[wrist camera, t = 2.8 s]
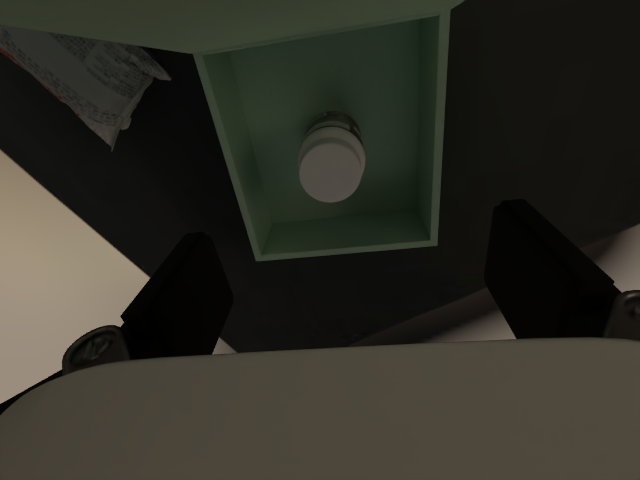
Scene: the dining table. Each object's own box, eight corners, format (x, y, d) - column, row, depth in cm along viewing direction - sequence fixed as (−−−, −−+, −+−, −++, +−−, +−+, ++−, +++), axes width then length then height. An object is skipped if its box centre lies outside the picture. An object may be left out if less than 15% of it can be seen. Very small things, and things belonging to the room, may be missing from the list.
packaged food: (128, 142, 29) (93, 160, 25) (-8, 22, 25) (-78, 19, 21) (186, 71, 26) (157, 78, 22) (42, -81, 22) (-28, -109, 17)
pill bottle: (359, 166, 29) (365, 209, 22) (306, 165, 29) (295, 208, 22) (363, 109, 26) (371, 137, 19) (304, 108, 27) (291, 137, 19)
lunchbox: (421, 210, 32) (437, 245, 26) (268, 226, 33) (255, 261, 28) (426, 7, 23) (451, 0, 18) (221, 42, 25) (190, 45, 20)
